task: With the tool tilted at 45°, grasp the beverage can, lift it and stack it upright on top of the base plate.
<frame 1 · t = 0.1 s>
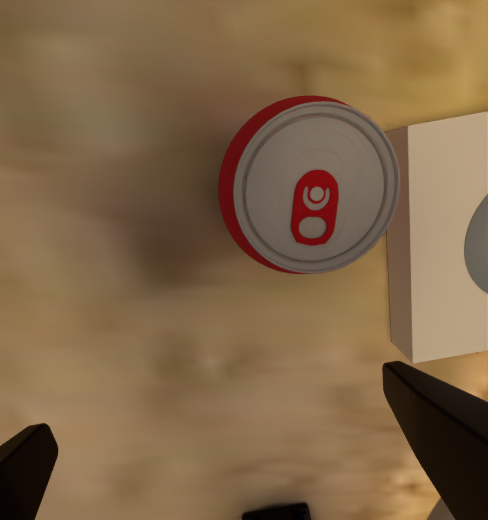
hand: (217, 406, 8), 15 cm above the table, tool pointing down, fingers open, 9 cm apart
beverage can: (269, 184, 21), on the table
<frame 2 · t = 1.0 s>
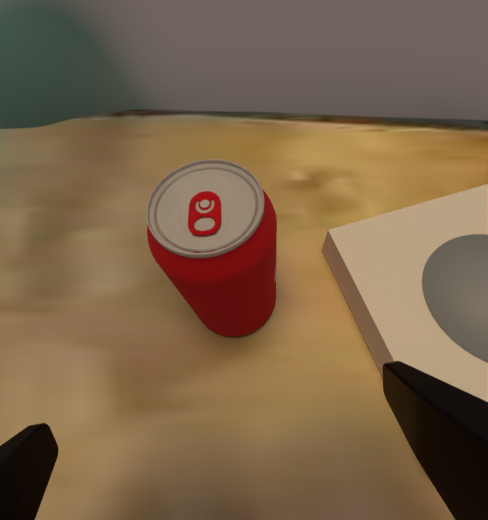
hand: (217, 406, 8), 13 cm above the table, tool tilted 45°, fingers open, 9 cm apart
base plate: (471, 311, 22), on the table
beverage can: (235, 300, 24), on the table
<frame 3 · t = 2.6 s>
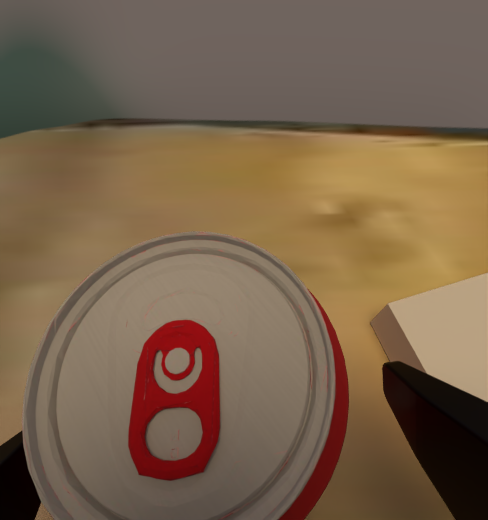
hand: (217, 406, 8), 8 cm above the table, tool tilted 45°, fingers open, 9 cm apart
beverage can: (243, 404, 16), on the table
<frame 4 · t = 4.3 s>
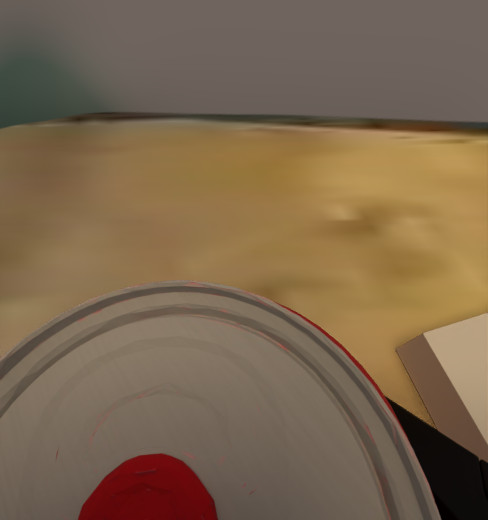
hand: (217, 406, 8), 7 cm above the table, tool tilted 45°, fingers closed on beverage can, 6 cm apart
beverage can: (248, 448, 13), on the table, touching gripper
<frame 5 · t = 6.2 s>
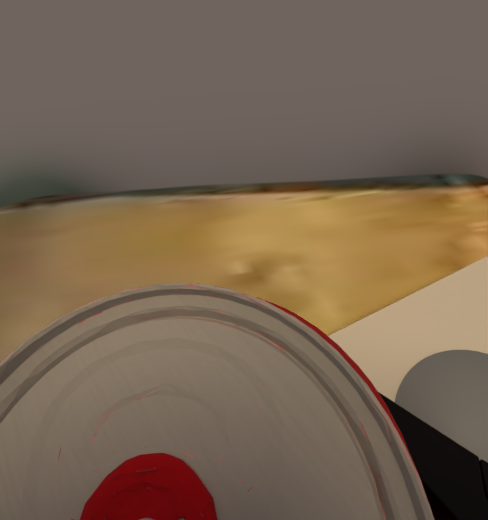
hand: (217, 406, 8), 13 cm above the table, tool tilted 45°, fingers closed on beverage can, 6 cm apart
base plate: (454, 436, 18), on the table
beverage can: (247, 446, 13), point 6 cm above the table, touching gripper
when the fingers open (11 cm above the table, at t = 8.6 s): beverage can stays where it is, resting on base plate.
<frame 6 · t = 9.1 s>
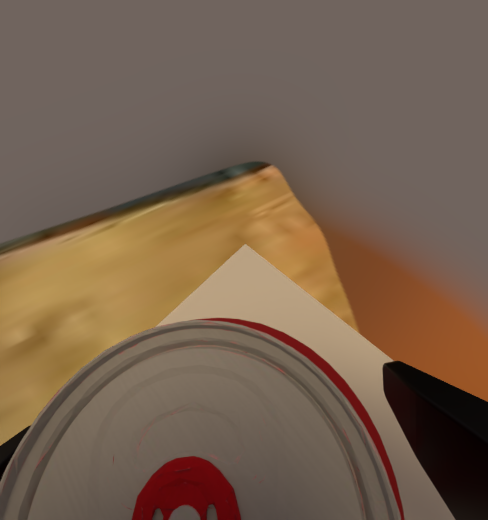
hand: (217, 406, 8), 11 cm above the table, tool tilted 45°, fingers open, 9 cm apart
base plate: (252, 442, 17), on the table
beverage can: (251, 448, 14), point 3 cm above the table, touching base plate
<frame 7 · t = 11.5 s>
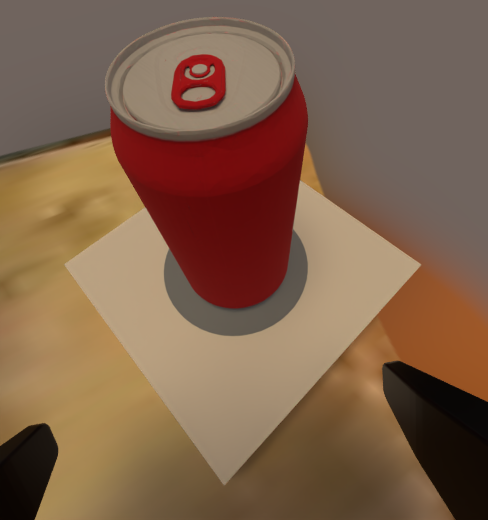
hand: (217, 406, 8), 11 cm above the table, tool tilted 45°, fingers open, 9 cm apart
base plate: (238, 283, 22), on the table
beverage can: (237, 266, 19), point 3 cm above the table, touching base plate
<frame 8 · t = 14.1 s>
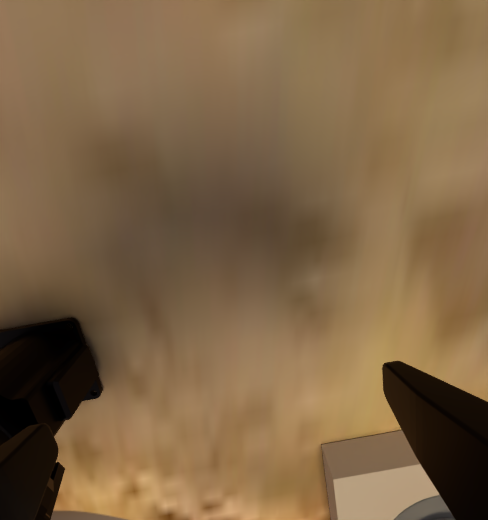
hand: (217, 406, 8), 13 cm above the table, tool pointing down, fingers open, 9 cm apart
base plate: (416, 497, 27), on the table
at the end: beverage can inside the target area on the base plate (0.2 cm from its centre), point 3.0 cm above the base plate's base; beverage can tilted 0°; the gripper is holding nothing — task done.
